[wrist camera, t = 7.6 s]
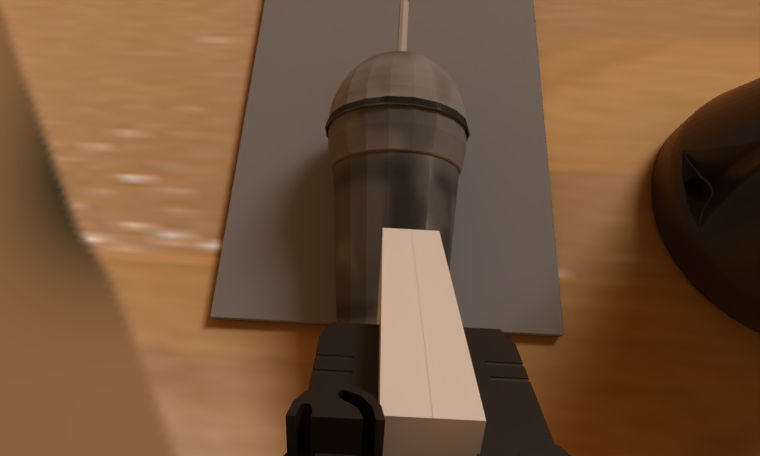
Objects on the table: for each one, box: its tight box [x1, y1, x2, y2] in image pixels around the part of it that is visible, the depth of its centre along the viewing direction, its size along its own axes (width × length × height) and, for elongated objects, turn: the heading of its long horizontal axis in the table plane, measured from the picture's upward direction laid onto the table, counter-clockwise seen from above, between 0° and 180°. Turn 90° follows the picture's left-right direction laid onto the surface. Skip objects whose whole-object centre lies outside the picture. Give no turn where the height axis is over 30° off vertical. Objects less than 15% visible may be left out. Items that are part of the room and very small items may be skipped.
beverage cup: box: [325, 0, 470, 324], centre depth 24 cm, size 7×7×20 cm
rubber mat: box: [210, 0, 564, 336], centre depth 30 cm, size 28×18×1 cm, turn 177°
